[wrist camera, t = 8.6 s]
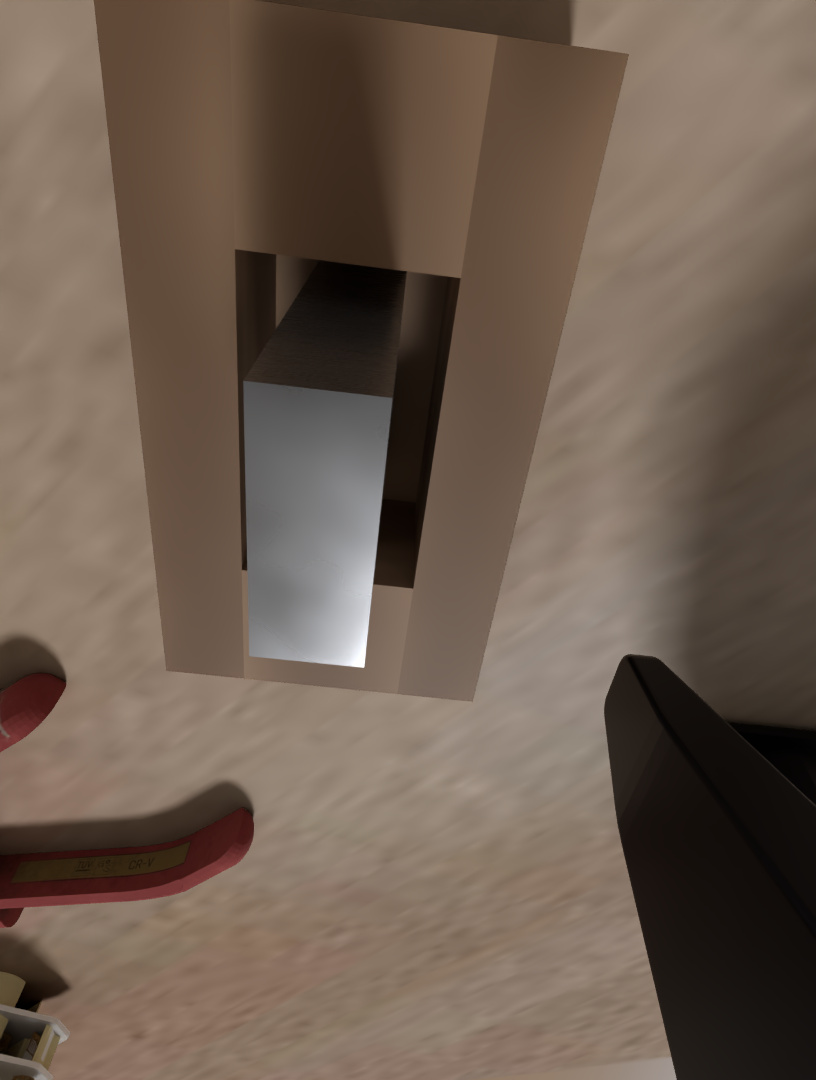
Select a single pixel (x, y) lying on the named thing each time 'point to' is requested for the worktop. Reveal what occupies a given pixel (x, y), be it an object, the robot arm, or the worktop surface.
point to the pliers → (104, 872)
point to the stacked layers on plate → (25, 1035)
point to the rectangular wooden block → (354, 238)
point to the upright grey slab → (320, 464)
